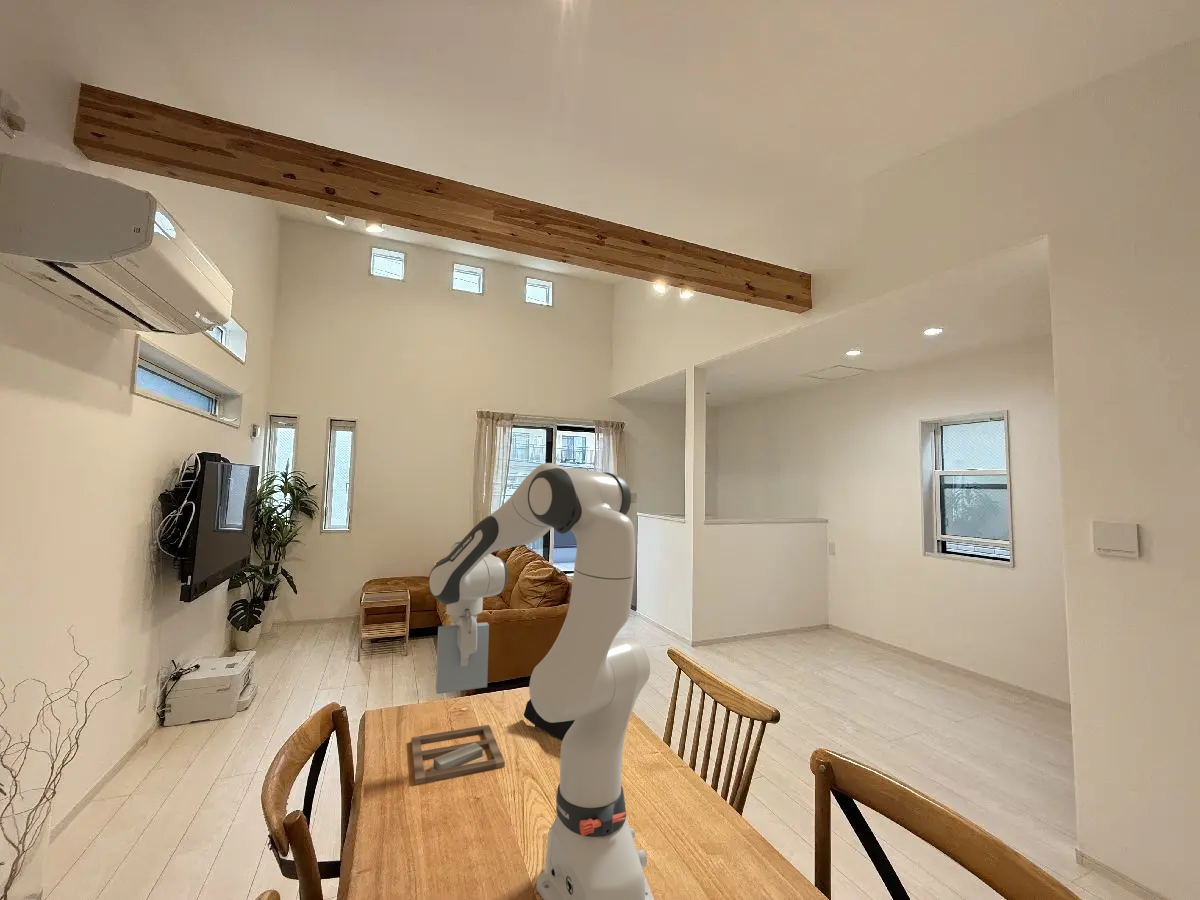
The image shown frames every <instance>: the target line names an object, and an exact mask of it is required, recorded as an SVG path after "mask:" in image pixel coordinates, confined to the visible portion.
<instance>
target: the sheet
mask: <svg viewBox="0 0 1200 900" xmlns="http://www.w3.org/2000/svg"><path fill="white" fill-rule="evenodd" d="M457 629H458V626H457V625H451V624H450V625H440V626H438V628H437V651H436V652H437V653H436V673H435V677H436V678H435V693H436V695H438V694H446V693H453V692H462V691H469V690H476V689H482V688H488V674H489V673H488V672H489V670H488V669H489V668H488V666H489V644H490V643H489V637H490V636H489V634H490V624H489V623H488V622H477V650H476V653H472V654H469V658H468V665H467V666H461V665H460V656H461V652H460V650H459V648H458V645H457ZM469 634H470V633H469Z"/></svg>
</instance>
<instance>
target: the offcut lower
mask: <svg viewBox="0 0 1200 900" xmlns="http://www.w3.org/2000/svg"><path fill="white" fill-rule="evenodd" d="M484 759H487V756H486V755H485V754H484V752H482V757H480V758H478V759H475V760H473V761H470V762H468V763H466V764H465V765H467V764H471V763H473V762H474V763H475V762H476V761H480V760H484ZM433 764H434V762H433V763H430V764H428V768H429V770H430V772H431V771H436V769H435V768H434V767H433Z"/></svg>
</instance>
